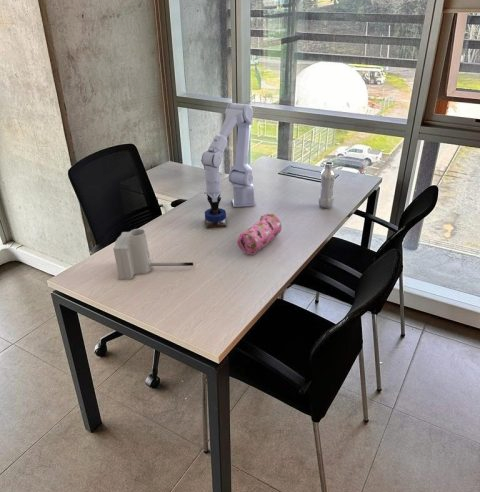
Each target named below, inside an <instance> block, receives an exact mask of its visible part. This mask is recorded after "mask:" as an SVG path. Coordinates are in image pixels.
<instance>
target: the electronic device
mask: <svg viewBox="0 0 480 492" xmlns="http://www.w3.org/2000/svg"><path fill="white" fill-rule="evenodd" d="M113 254H114V259H115V262H116V263H115V264H116V268H117V269H116V270H117V274H118V278H119V280H132V279H133V278H134V276H135V275H144V274H147V273H150V272H151V271H152V267H194V262H191V261H190V262H152V259H151V257H150V251H149V244H148V239H147V231H146V230H145V229H143V228H134V229H131V230H130V231H122V232H121V234H120V235H119V236H118V237H117V238H116V240H115V245H114V247H113Z"/></svg>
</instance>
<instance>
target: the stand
mask: <svg viewBox="0 0 480 492" xmlns="http://www.w3.org/2000/svg"><path fill="white" fill-rule="evenodd" d="M213 215H218V211H217V210H213ZM205 222H206V229H218V228H219V229H220V228H226V227H227V223H226V218H225V219H224V220H223V221H220V222H209V221H207V220H205Z"/></svg>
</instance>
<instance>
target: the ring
mask: <svg viewBox="0 0 480 492" xmlns="http://www.w3.org/2000/svg"><path fill="white" fill-rule="evenodd" d="M224 219H225V220H226V219H227V212H226V210H225V209H224V208H220V207H218V215H213V212H212V209H211V208H208V209H206V210H205V211H204V220H205V221H206V220H207V221H209V222H220V221H223V220H224Z"/></svg>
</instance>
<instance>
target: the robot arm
mask: <svg viewBox="0 0 480 492" xmlns="http://www.w3.org/2000/svg"><path fill="white" fill-rule="evenodd" d="M224 112H225V119H224V121H223V123H222V127H221V128H220V131H219V133H218V134H216V135H214V137H213V139H212V141H211V143H210V145H209V147H208V149H207V150H206V151H205V152H203V153H202V155H201V159H200V162H201V165H202V167H203V170H204V172H205V174H204V175H205V185H206V187H205V188H206V190H203V194H204V195H206V198H207V202H208V203H209V205H210V209H212V212H213V210H217V211H218V208H220V207H219V205H220V202H221V201H222V197H221V193H222V190H221V178H220V166H221V164H222V161H223V153H224V151H225V150H226V147H227V145H228V137H229V136H230V134H231V133H232V131H233V129H234V127H235V126H236V125H237V136H236V137H237V138H236V140H237V141H236V149H235V150H236V151H235V163H234V164H233V165H231V166H230V168H229V169H230V170H229V173H228V182H229V183H230V184H231V186H232V195H233V197H232V198H233V199H231V201H232V207H233V208H244V207H245V208H246V207H254V206H255V189H254V188H255V187H254V184H252V183H253V180H254V176H253V169H252V167H251V166H250V165H249V164H248V161H249V148H250V147H249V146H250V138H251V137H250V136H251V126H252V125H253V118H254V109H253V107H252V105H251V104H246V103H245V104H243V103H235V102H229V103H228V104H227V105H226V109H225V111H224Z"/></svg>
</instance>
